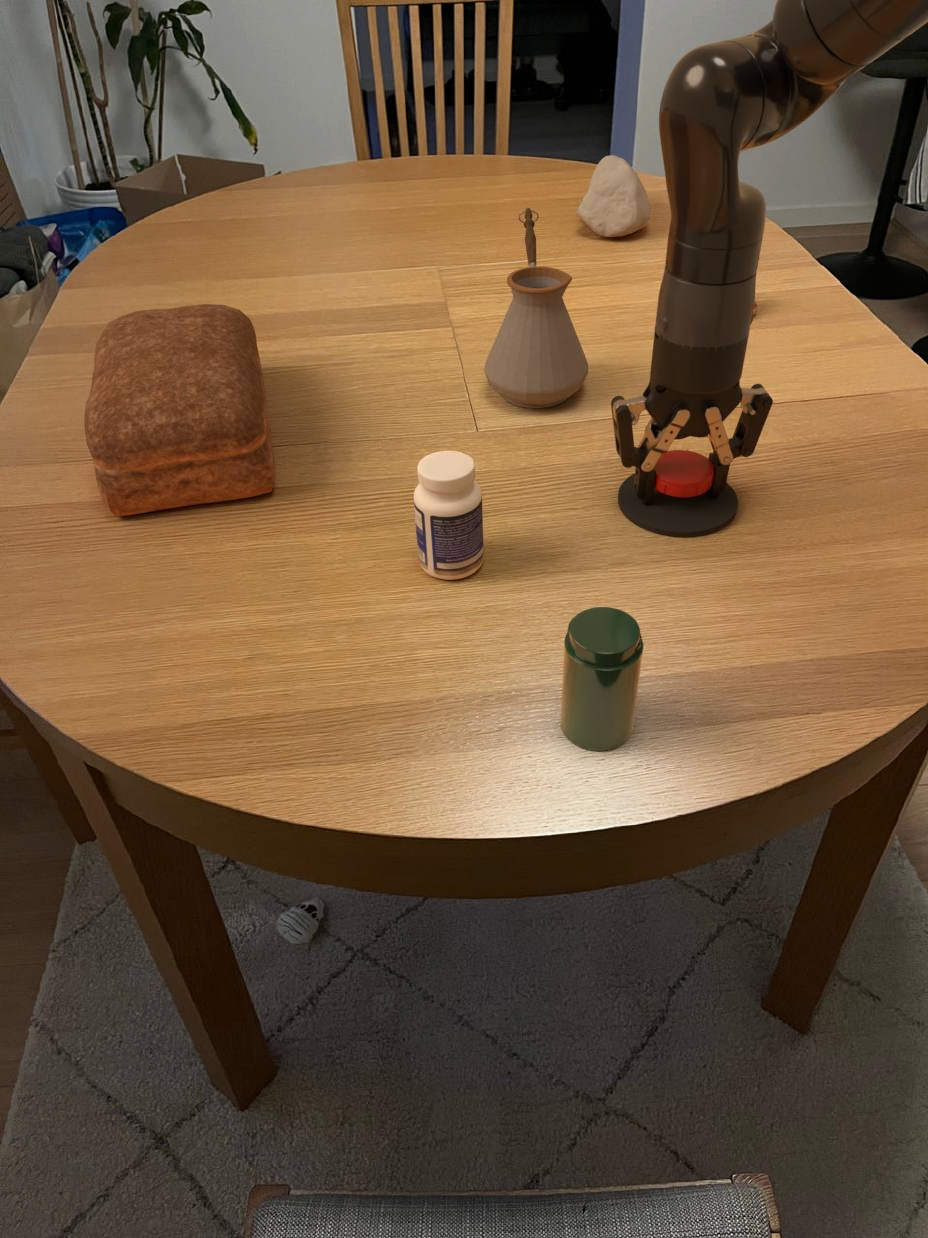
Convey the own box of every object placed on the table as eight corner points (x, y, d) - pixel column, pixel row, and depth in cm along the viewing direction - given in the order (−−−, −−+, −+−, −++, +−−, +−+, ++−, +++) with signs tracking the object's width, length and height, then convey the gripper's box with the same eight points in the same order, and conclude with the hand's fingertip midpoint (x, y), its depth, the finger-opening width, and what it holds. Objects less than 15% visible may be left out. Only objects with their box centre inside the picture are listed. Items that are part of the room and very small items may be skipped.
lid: (641, 489, 85) (642, 475, 84) (659, 458, 88) (661, 444, 87) (702, 503, 83) (705, 489, 82) (718, 470, 86) (721, 456, 85)
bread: (264, 365, 111) (246, 270, 103) (281, 501, 89) (260, 393, 82) (118, 384, 109) (89, 288, 101) (99, 528, 87) (60, 419, 80)
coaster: (747, 483, 89) (749, 478, 89) (723, 548, 82) (724, 542, 81) (636, 461, 93) (636, 456, 92) (602, 521, 85) (603, 516, 85)
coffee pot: (593, 415, 100) (602, 276, 90) (486, 419, 100) (483, 281, 90) (573, 329, 116) (578, 203, 106) (480, 332, 116) (478, 207, 106)
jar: (635, 702, 68) (647, 608, 62) (629, 756, 65) (642, 661, 58) (565, 693, 69) (570, 599, 63) (555, 745, 65) (560, 651, 59)
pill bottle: (496, 554, 82) (494, 457, 75) (461, 590, 79) (457, 491, 72) (441, 535, 84) (435, 439, 78) (405, 569, 81) (396, 472, 74)
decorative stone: (660, 224, 134) (625, 161, 130) (601, 263, 139) (565, 204, 134) (657, 195, 148) (625, 137, 144) (602, 231, 152) (570, 177, 148)
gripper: (772, 297, 79) (739, 468, 90) (605, 310, 78) (593, 481, 89) (806, 336, 73) (767, 512, 84) (626, 350, 72) (611, 526, 84)
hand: (677, 495), depth 87 cm, fingers closed on lid, 5 cm apart
